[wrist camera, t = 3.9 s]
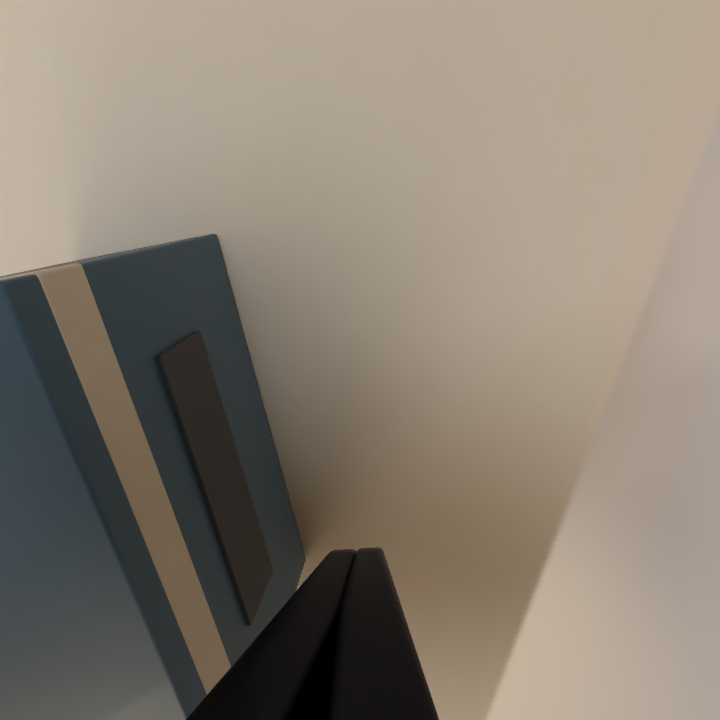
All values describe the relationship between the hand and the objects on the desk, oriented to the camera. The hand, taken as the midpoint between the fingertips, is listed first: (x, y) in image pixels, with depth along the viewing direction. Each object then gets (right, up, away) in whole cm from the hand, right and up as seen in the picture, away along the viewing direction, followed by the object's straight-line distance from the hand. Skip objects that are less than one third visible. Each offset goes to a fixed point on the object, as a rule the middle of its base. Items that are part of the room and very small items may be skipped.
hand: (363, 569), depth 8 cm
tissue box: (-6, 0, +4) cm, 7 cm away
